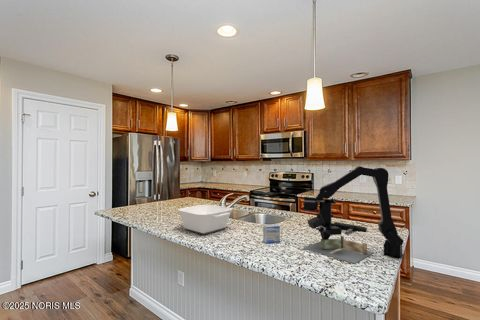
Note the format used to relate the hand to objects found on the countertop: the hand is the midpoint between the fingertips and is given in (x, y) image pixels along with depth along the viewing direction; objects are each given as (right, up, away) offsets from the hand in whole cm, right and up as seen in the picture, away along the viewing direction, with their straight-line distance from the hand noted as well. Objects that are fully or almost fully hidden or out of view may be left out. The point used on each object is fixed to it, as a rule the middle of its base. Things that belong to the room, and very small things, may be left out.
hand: (324, 243), depth 124 cm
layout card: (+5, -2, -3) cm, 6 cm away
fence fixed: (+12, -2, -5) cm, 13 cm away
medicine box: (-25, -2, +10) cm, 27 cm away
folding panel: (+2, -1, -2) cm, 3 cm away
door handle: (+24, -3, +32) cm, 40 cm away
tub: (-63, -2, +33) cm, 71 cm away
